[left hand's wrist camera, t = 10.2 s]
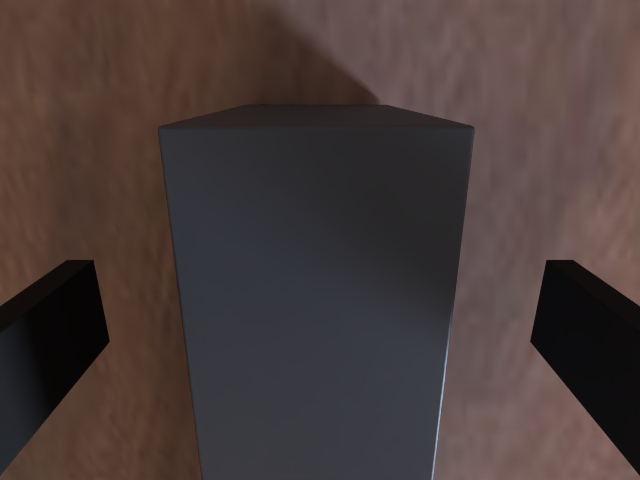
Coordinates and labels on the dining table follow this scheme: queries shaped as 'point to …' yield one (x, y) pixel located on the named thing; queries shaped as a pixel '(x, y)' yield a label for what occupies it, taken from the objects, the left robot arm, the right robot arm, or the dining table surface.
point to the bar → (316, 285)
